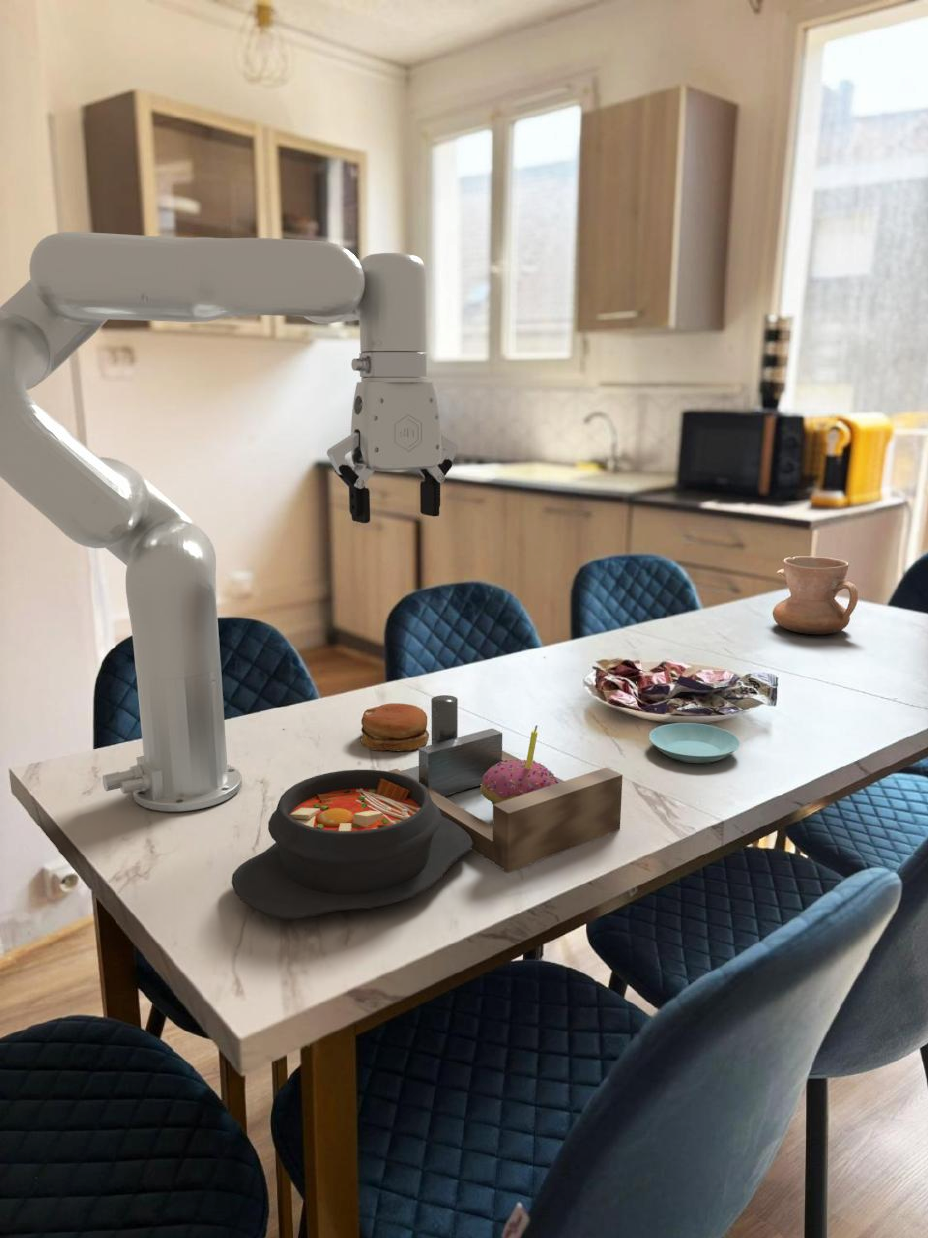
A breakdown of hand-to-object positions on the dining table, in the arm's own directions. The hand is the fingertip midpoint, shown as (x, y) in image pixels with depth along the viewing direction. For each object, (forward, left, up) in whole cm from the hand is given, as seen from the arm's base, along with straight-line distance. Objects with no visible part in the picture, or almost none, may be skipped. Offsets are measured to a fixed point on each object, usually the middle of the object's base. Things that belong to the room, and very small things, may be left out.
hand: (396, 518), depth 110 cm
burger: (+5, +9, -33) cm, 34 cm away
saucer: (+35, -18, -33) cm, 51 cm away
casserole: (-17, -19, -33) cm, 42 cm away
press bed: (+3, -16, -32) cm, 36 cm away
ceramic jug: (+104, +10, -33) cm, 109 cm away
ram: (+3, -7, -32) cm, 33 cm away
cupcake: (+3, -20, -32) cm, 38 cm away
